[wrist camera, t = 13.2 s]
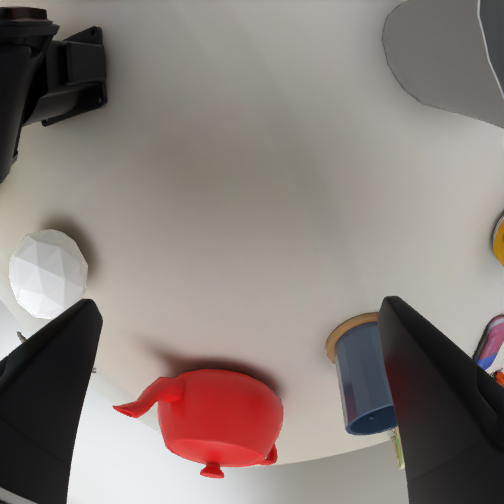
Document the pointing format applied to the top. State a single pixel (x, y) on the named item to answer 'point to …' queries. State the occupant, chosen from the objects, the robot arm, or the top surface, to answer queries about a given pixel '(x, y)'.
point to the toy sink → (398, 449)
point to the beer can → (499, 240)
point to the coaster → (345, 327)
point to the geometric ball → (47, 273)
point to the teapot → (214, 418)
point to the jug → (364, 381)
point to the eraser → (490, 343)
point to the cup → (450, 55)
